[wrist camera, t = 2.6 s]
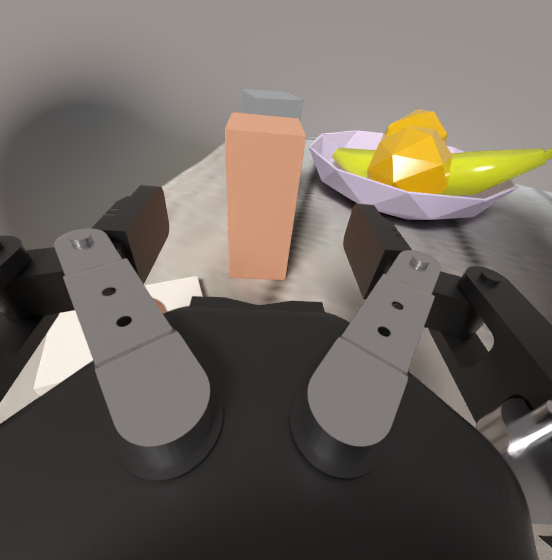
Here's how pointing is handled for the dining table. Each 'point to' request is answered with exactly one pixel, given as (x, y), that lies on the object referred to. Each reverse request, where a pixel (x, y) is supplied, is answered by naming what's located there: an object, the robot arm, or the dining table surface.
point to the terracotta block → (262, 192)
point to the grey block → (271, 103)
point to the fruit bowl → (419, 169)
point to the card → (72, 344)
